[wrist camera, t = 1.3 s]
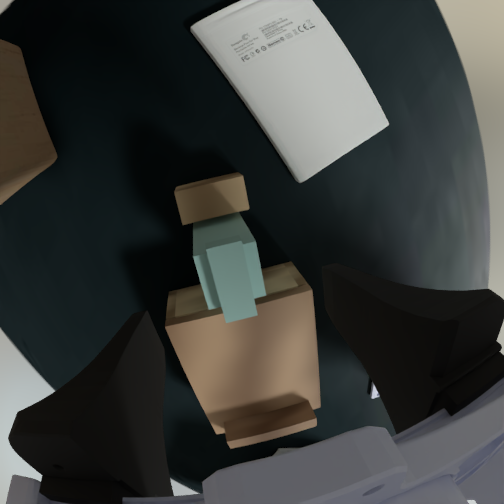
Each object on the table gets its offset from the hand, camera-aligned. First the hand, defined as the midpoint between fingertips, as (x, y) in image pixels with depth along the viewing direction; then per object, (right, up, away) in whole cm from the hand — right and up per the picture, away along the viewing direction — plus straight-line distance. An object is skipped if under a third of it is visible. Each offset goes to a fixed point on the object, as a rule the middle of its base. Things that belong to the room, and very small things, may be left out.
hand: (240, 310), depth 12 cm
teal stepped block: (-2, +3, +8) cm, 9 cm away
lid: (+1, -6, +9) cm, 10 cm away
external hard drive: (+3, +14, +6) cm, 16 cm away
